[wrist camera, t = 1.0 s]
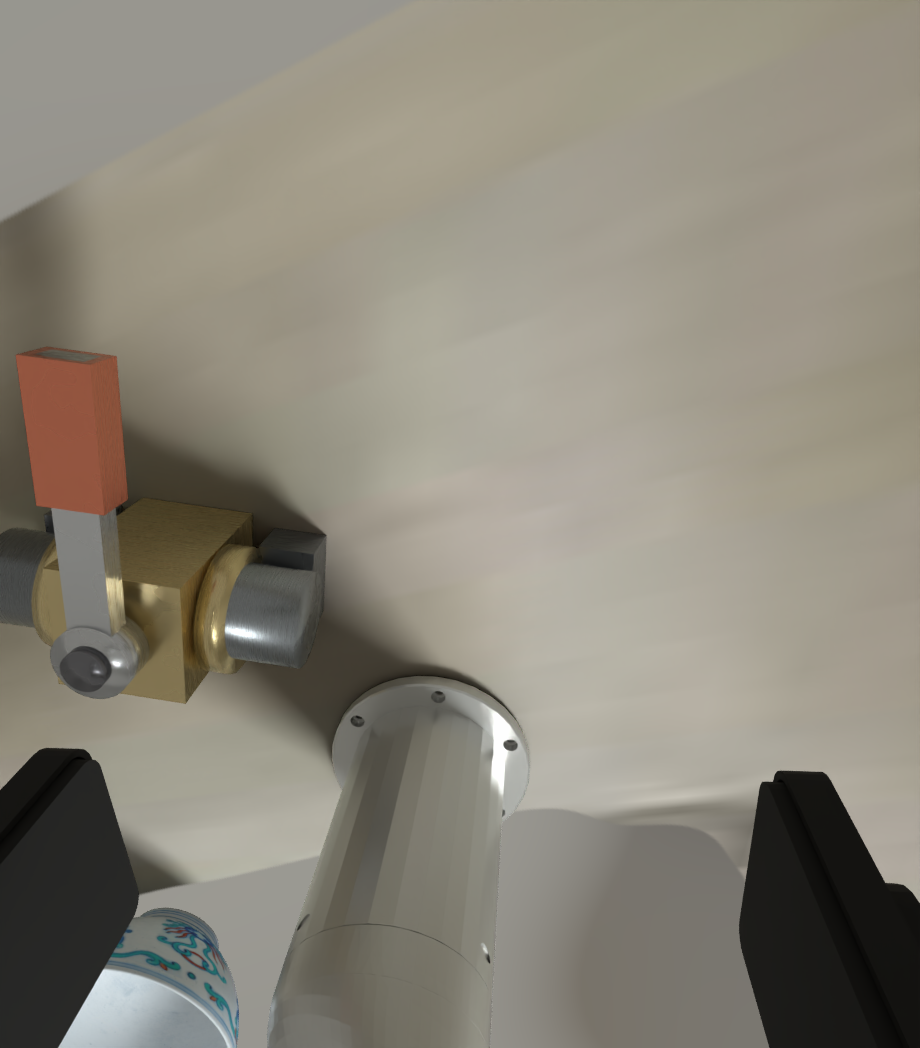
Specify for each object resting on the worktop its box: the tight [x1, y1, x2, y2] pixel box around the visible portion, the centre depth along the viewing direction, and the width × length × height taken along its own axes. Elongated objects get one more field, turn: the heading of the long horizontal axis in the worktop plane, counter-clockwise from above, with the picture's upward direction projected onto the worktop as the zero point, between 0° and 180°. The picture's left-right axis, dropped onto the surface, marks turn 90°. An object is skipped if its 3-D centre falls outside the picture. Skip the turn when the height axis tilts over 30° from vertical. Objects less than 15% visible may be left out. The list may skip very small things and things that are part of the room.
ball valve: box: [0, 498, 326, 704], centre depth 37 cm, size 7×16×9 cm, turn 83°
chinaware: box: [58, 908, 239, 1048], centre depth 52 cm, size 15×15×8 cm
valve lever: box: [16, 347, 150, 699], centre depth 30 cm, size 15×4×2 cm, turn 173°
